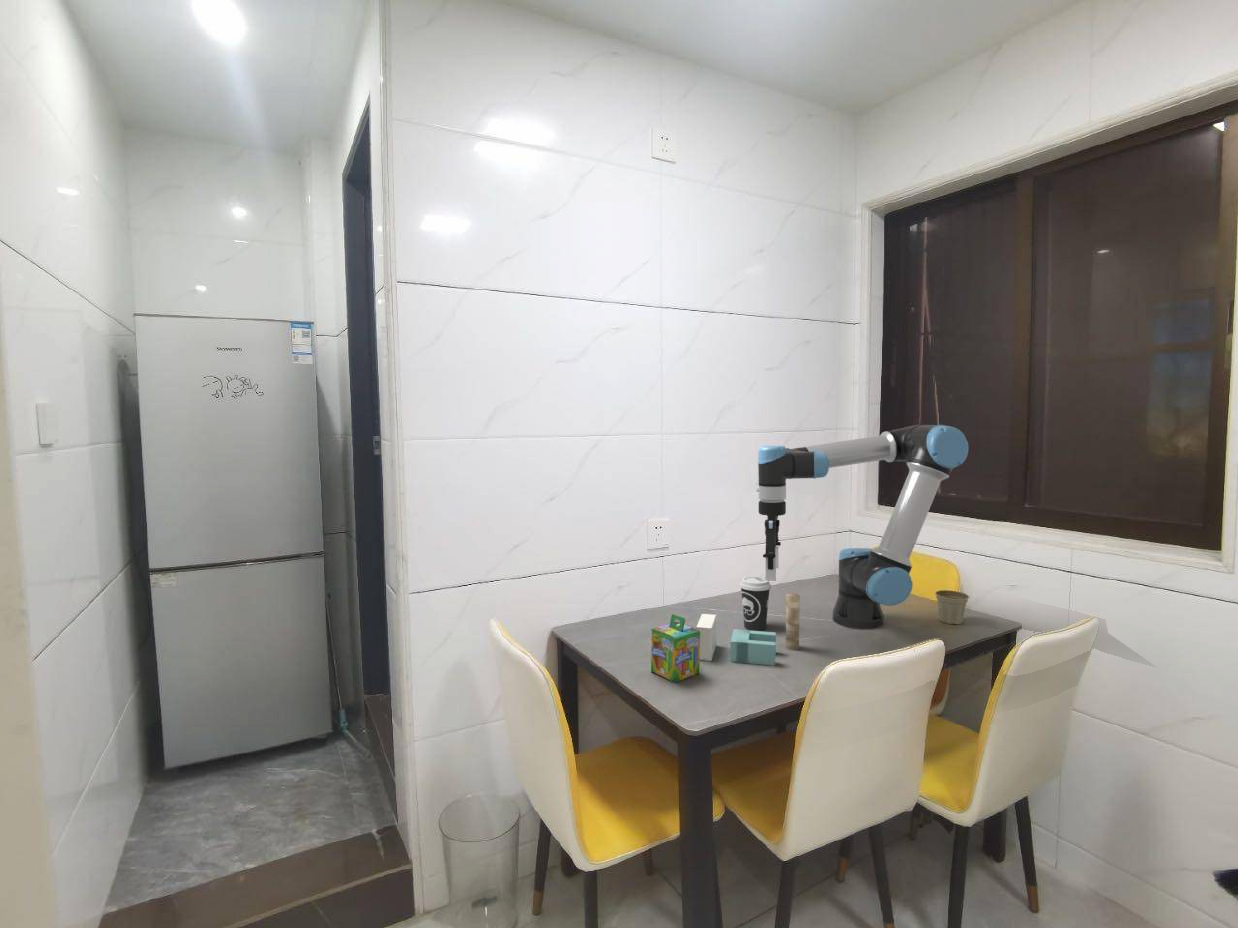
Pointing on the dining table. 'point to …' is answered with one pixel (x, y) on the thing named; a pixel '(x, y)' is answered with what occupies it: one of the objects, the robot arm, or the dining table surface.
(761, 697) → the dining table surface
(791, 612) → the dowel
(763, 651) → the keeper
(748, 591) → the coffee cup
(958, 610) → the flower pot
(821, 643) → the dining table surface
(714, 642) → the wall
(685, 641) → the chalk box
